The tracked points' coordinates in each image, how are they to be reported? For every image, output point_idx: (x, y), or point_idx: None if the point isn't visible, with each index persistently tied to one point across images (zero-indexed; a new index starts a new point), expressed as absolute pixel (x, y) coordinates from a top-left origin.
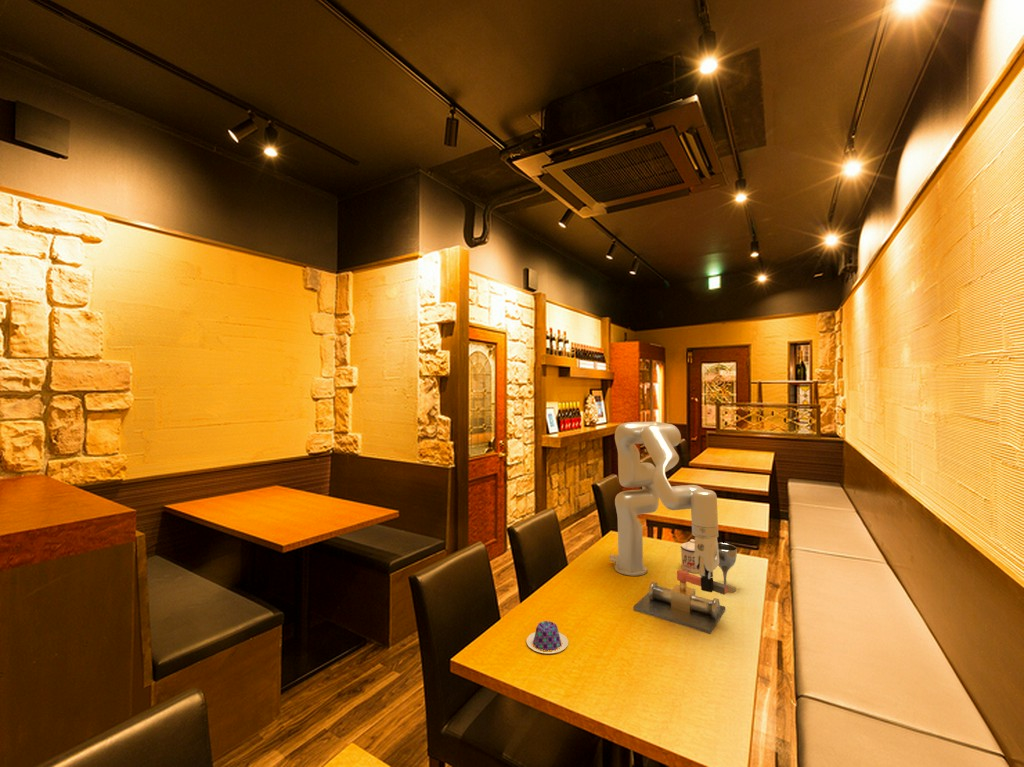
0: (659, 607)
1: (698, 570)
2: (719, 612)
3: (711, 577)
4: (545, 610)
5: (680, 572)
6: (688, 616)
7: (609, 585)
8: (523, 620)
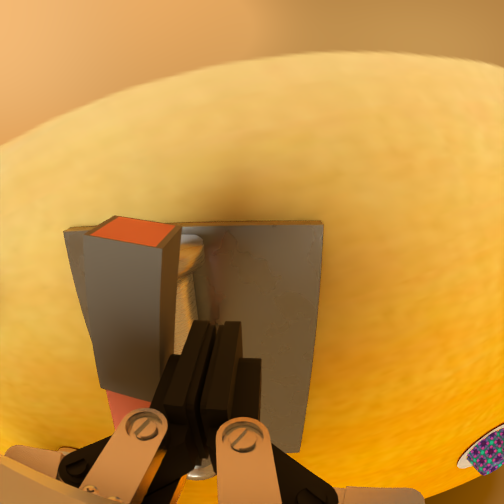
0: None
1: None
2: None
3: (168, 414)
4: None
5: None
6: (254, 331)
7: (204, 492)
8: (430, 490)
